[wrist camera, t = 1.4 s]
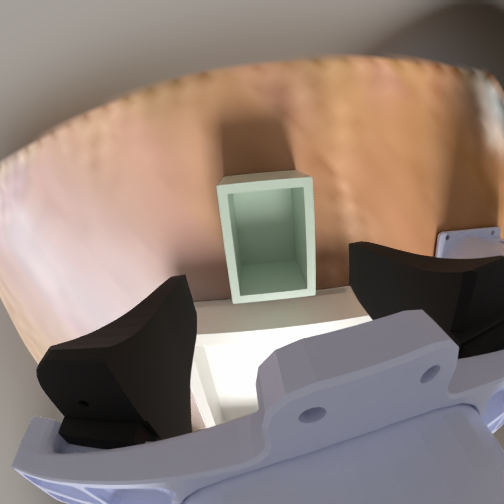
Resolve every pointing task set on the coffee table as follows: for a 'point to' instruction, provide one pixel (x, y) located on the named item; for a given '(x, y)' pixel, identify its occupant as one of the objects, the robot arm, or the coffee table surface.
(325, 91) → the coffee table surface
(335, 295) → the white shallow tray
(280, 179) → the small crate
